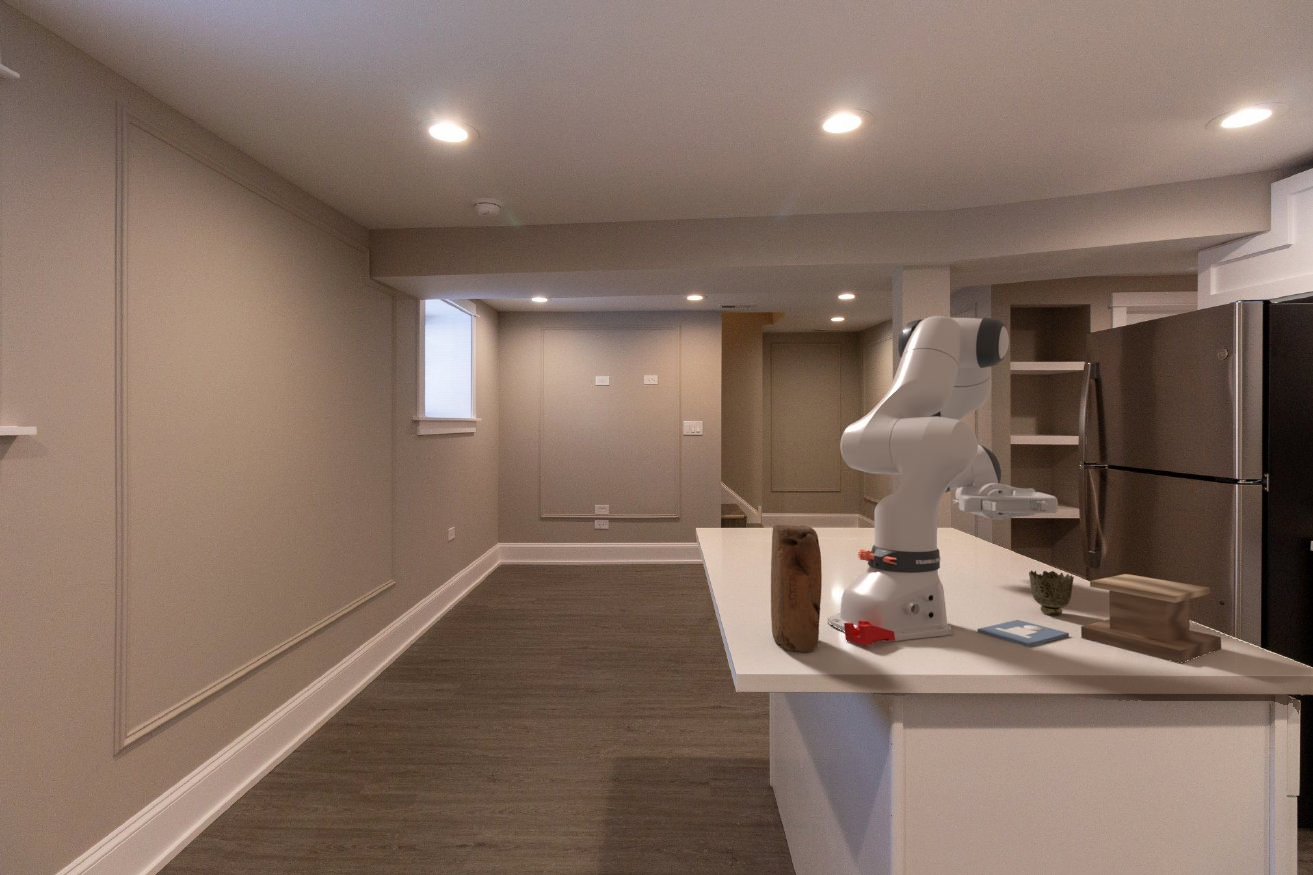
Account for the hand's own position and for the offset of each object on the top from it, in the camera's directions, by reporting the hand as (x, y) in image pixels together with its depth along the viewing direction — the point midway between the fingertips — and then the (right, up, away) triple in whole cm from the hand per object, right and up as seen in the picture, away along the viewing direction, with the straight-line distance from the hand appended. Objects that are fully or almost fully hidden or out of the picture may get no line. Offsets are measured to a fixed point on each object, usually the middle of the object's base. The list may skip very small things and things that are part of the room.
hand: (1021, 507), depth 131 cm
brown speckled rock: (-57, -20, -30) cm, 67 cm away
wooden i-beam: (+3, -20, -30) cm, 36 cm away
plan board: (-15, -20, -25) cm, 35 cm away
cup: (-2, -20, -12) cm, 24 cm away
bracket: (-44, -20, -30) cm, 57 cm away
